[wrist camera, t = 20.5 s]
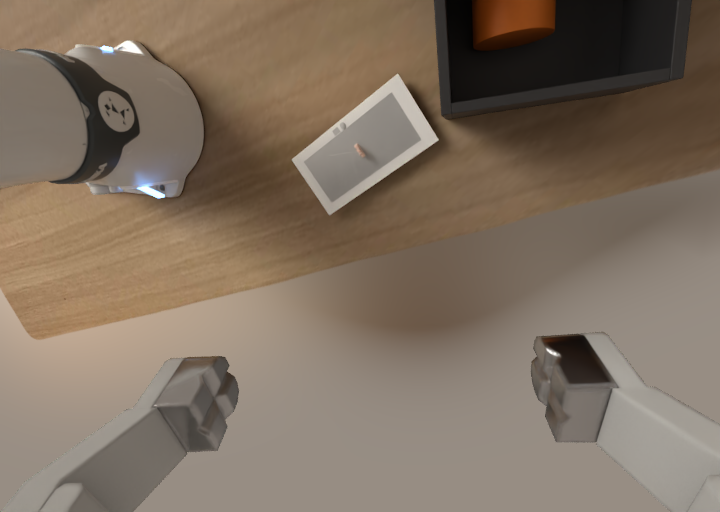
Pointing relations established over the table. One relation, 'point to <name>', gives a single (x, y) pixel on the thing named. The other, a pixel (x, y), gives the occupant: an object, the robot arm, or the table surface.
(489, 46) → the orange croquet mallet
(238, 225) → the table surface
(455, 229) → the table surface
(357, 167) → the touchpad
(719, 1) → the table surface
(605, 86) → the basket
